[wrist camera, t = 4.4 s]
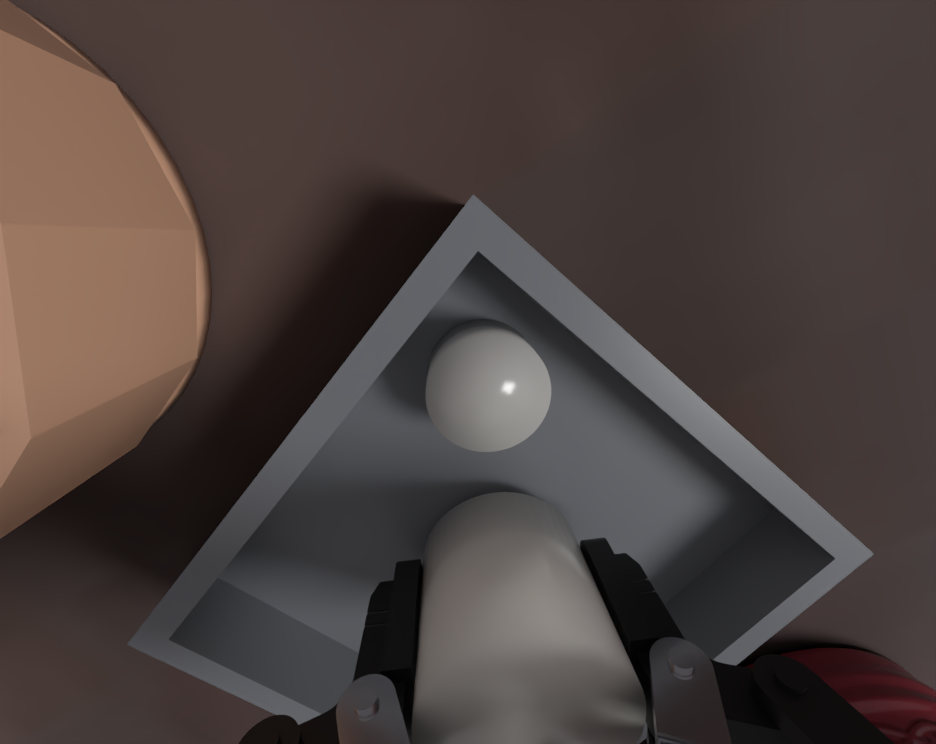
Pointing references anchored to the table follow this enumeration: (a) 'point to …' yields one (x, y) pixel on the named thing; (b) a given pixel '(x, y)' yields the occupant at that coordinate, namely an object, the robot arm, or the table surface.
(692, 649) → the robot arm
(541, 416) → the small pebble
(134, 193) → the terracotta bowl
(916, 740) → the canister
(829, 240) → the table surface
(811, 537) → the parts tray
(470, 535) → the pale stone
